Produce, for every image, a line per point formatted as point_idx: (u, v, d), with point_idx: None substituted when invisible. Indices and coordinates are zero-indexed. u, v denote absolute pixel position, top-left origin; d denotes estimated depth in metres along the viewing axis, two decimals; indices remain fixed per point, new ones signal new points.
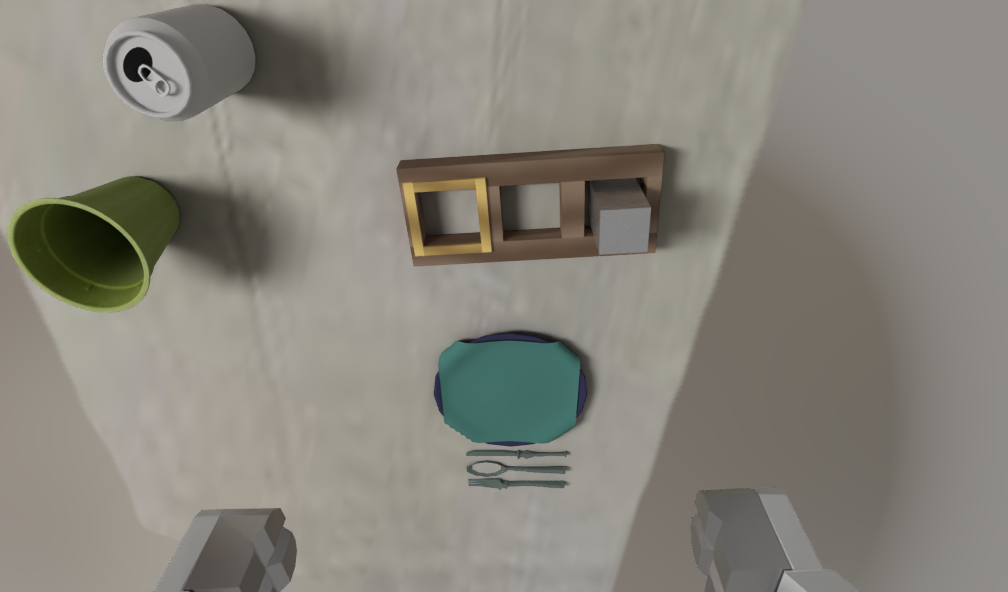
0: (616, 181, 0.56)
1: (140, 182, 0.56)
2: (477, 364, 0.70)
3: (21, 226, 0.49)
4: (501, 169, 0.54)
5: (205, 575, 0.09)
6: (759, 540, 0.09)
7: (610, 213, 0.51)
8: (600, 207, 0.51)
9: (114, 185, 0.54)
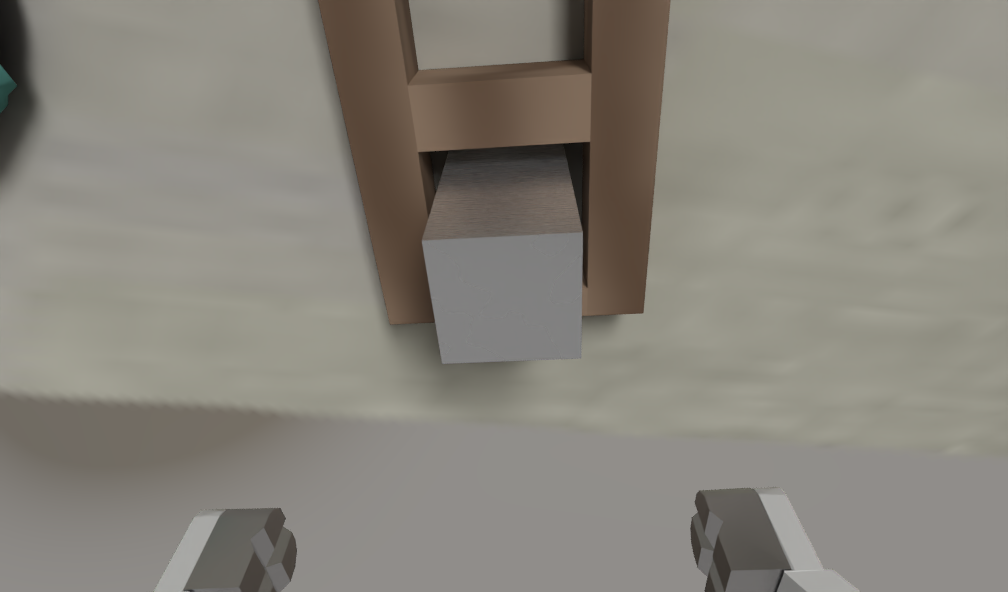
0: None
1: None
2: None
3: None
4: None
5: (205, 574, 0.09)
6: (759, 540, 0.09)
7: (571, 261, 0.16)
8: None
9: None
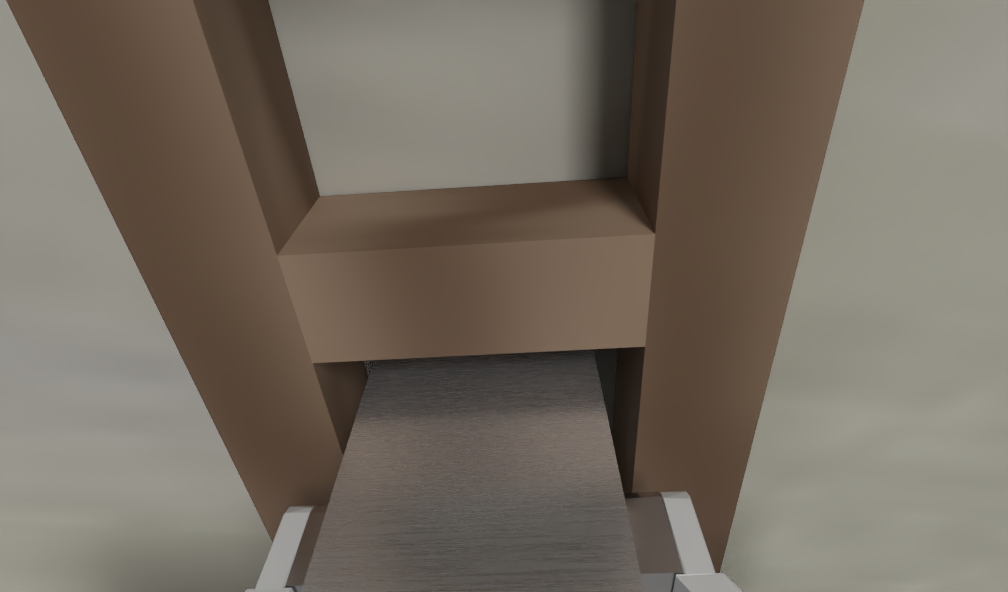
0: None
1: None
2: None
3: None
4: None
5: (305, 571, 0.09)
6: (656, 544, 0.09)
7: None
8: None
9: None
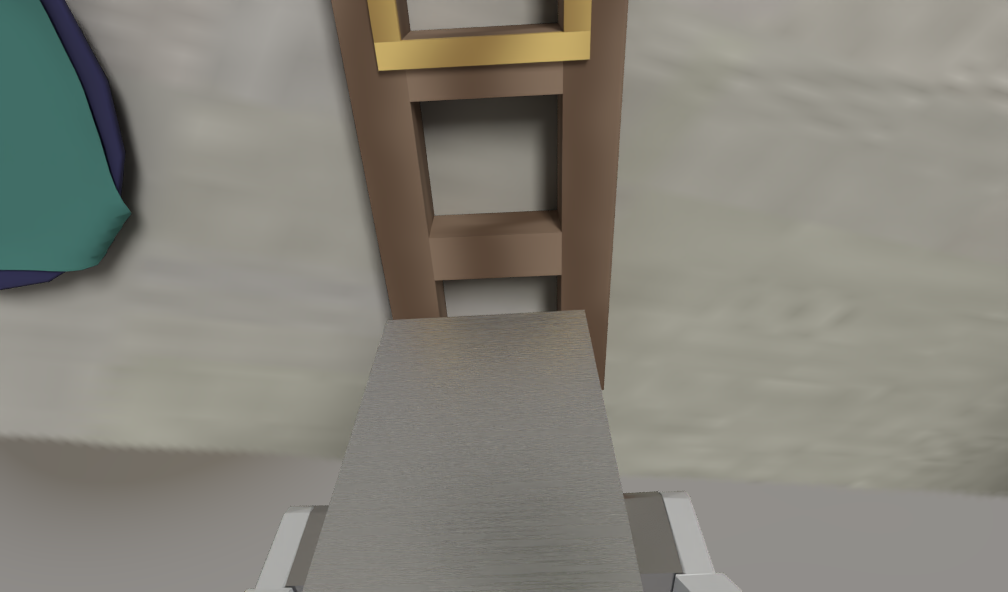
0: None
1: None
2: None
3: None
4: (604, 100, 0.23)
5: (305, 571, 0.09)
6: (656, 544, 0.09)
7: None
8: None
9: None
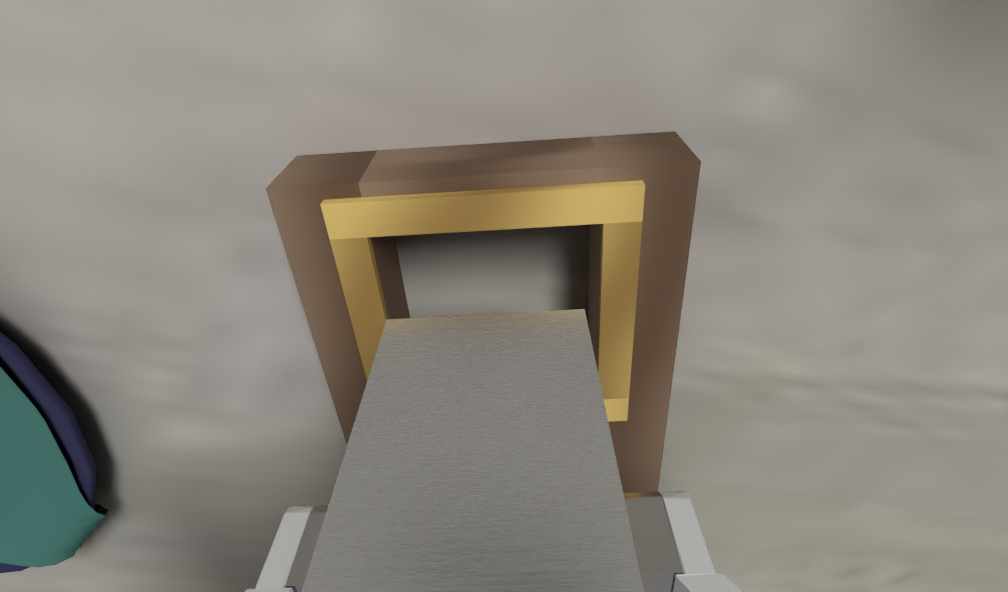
0: None
1: None
2: None
3: None
4: (643, 447, 0.19)
5: (305, 571, 0.09)
6: (656, 544, 0.09)
7: None
8: None
9: None
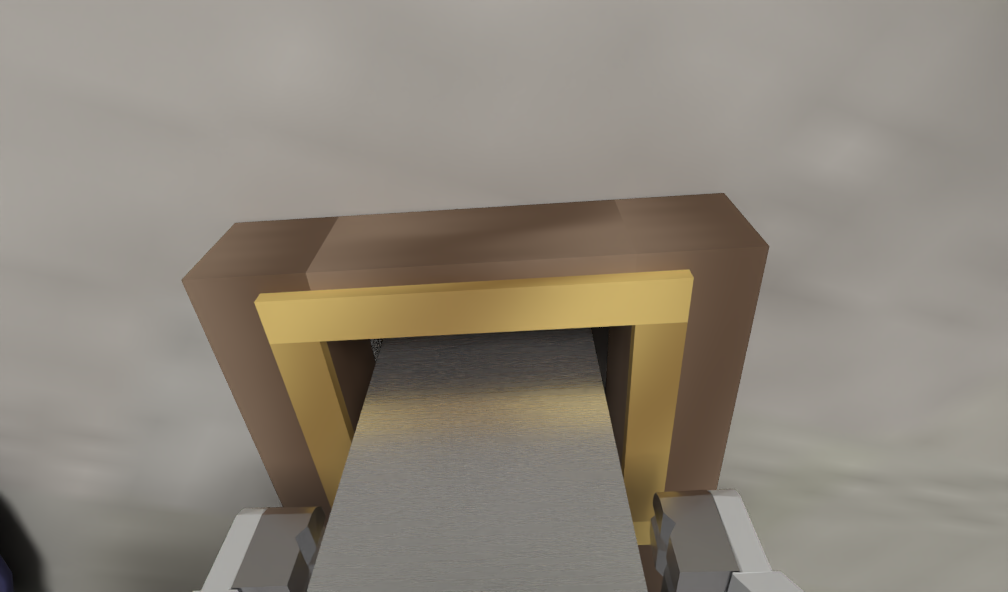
0: None
1: None
2: None
3: None
4: None
5: (252, 573, 0.09)
6: (710, 542, 0.09)
7: None
8: (642, 578, 0.08)
9: None
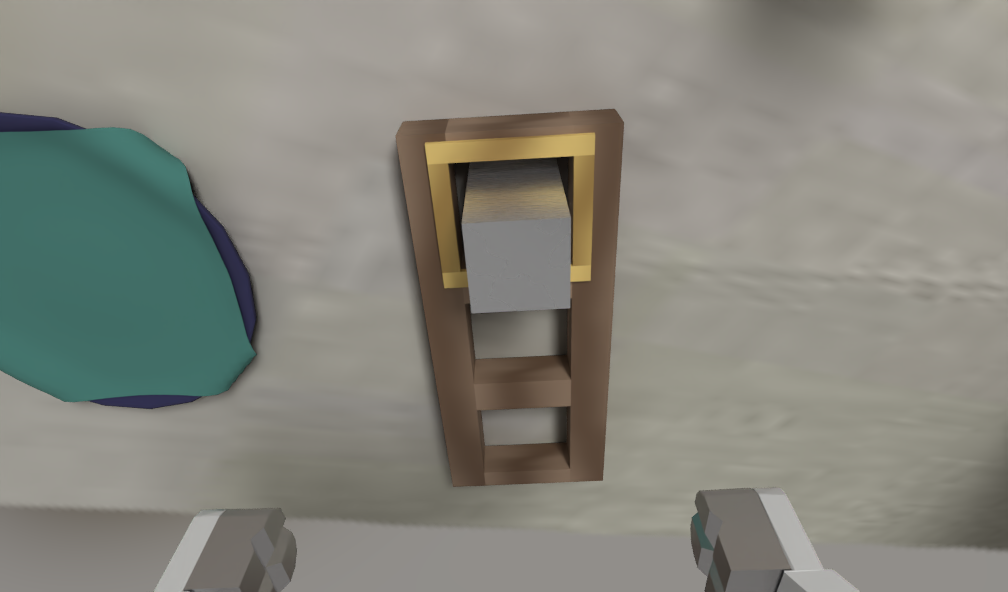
0: None
1: None
2: (133, 212, 0.31)
3: None
4: (601, 301, 0.32)
5: (206, 574, 0.09)
6: (759, 540, 0.09)
7: (563, 237, 0.24)
8: None
9: None
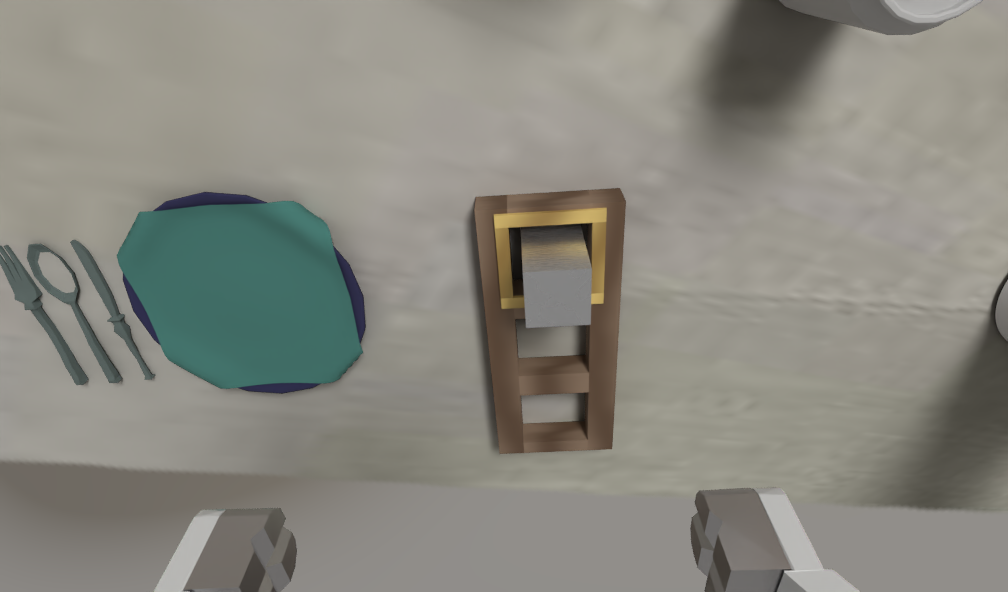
0: None
1: None
2: (287, 254, 0.44)
3: None
4: (610, 317, 0.46)
5: (205, 574, 0.09)
6: (759, 540, 0.09)
7: (586, 280, 0.37)
8: (590, 264, 0.38)
9: None
